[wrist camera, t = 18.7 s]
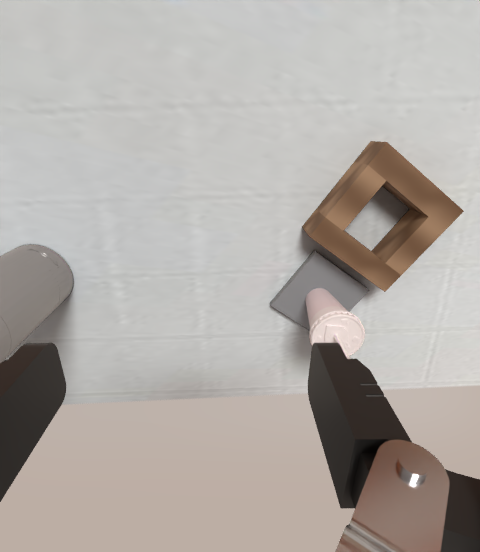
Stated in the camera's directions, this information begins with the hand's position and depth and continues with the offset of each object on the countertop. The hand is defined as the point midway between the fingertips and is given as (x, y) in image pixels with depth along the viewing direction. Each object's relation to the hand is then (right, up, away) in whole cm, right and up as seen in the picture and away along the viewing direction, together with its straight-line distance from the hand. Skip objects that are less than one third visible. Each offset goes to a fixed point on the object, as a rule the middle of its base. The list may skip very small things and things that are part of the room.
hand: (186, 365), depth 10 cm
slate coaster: (+13, 0, +37) cm, 40 cm away
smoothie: (+13, 0, +37) cm, 39 cm away
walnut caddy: (+19, +11, +33) cm, 40 cm away
